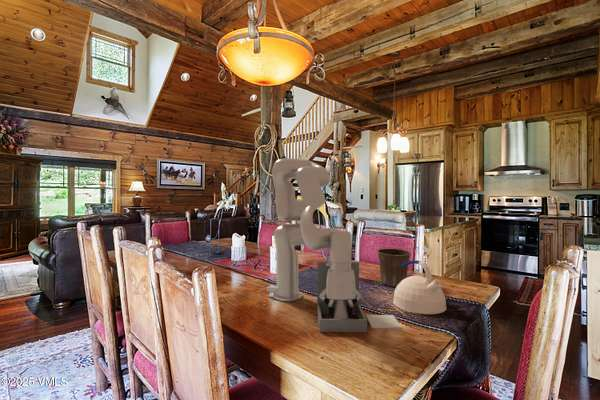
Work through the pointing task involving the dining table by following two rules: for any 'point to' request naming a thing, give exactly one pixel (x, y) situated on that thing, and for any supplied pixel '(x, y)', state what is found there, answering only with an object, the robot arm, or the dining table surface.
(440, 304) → the kettle
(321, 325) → the case
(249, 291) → the dining table surface
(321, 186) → the robot arm
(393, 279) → the plant pot
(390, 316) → the rubber mat
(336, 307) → the flask
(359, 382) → the dining table surface
